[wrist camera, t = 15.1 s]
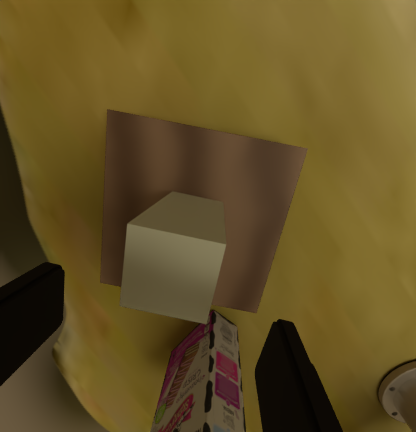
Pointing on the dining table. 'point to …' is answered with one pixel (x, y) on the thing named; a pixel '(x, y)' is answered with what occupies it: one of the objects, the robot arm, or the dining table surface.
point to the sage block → (174, 257)
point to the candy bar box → (203, 382)
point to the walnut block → (200, 193)
